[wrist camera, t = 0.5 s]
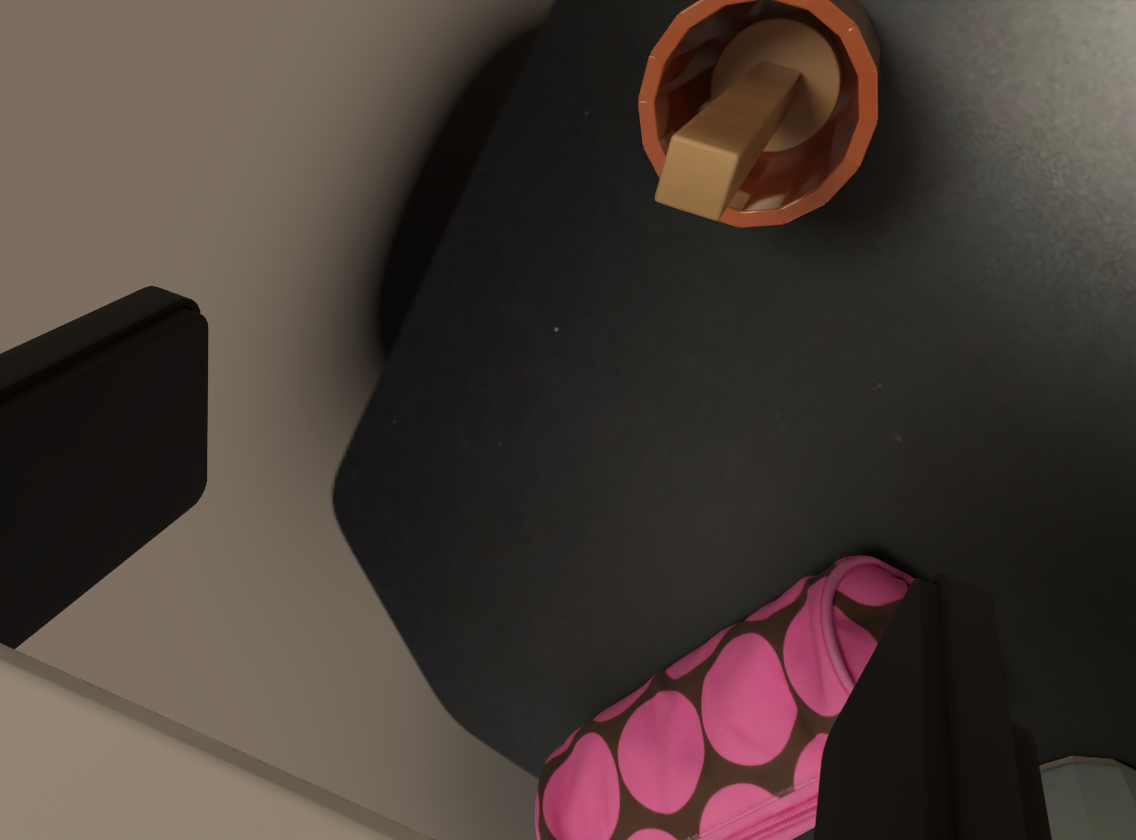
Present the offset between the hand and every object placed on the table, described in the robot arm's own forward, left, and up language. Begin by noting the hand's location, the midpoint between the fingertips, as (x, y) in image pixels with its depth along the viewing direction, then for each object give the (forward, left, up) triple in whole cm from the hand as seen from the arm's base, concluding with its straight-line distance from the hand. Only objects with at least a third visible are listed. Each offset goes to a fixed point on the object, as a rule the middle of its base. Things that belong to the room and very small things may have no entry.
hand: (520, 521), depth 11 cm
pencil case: (+25, +8, -26) cm, 37 cm away
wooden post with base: (-2, 0, -26) cm, 26 cm away
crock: (-2, 0, -26) cm, 26 cm away
